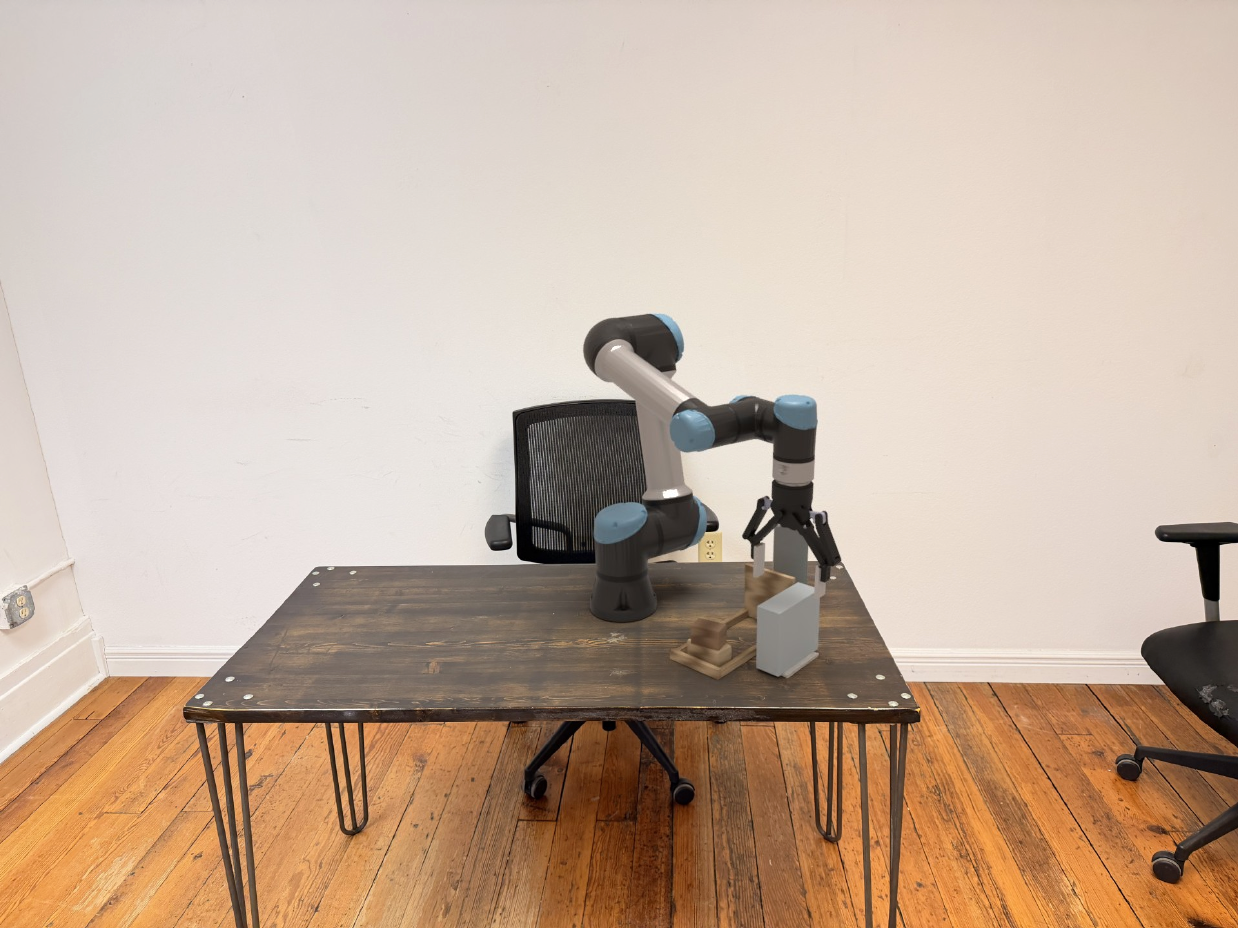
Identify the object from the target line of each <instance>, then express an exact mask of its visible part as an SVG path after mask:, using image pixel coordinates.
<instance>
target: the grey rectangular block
mask: <svg viewBox="0 0 1238 928" xmlns="http://www.w3.org/2000/svg"><path fill="white" fill-rule="evenodd" d="M814 587H815V586H812V585H808V584H807V585H806V584H802V583H799V582H798V583H796V584H794V585H792V586H791V587H789V588H787V589H786V590H784V591H782V592H780V593H779V594H777V595H775V596H774V597H772V598H770V599H769V600H767V601H765V602H763V603H762V604H760V605H758V606H757V619H756V644H757V653H756V655H755V658H756V661H755V662H756V665H755V666H756V667H755V668H756V669H758V670H761V671H763V672H766V673H768V674H770V675H773V676H776V677H778V678H779V677H781V674H783V673H784V672H786V671H787V670H789V669H790V668H791V667H793V666H794V665H796V664H797V663H798V662H800V661H801V660H803V659H804V658H806V657H807V656H808V655H810V654H811V653H813V652H816V651H817V650H819V634H820V633H819V631H820V609H821V608H820V607H821V606H820V605H821V604H820V603H821V597H820V598H818V599H816V598H814Z"/></svg>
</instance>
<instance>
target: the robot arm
mask: <svg viewBox="0 0 1238 928" xmlns="http://www.w3.org/2000/svg"><path fill="white" fill-rule="evenodd" d="M684 351H685V342H684V336H683V333H682V331H681V329H680V327H679V325H678V323H677V322H676V321H675V320H674V319H673V318H672V317H671V316H669V315H667V314H665V313H644V314H636V315H628V316H627V315H626V316H619V317H608V318H605V319H603V320H602V319H601V320H600V321H598V322H597V323H596V324H595V325H593V326H592V327H591V328H590V329H589V331H588V332H587V334H586V336H585V338H584V342H583V346H582V353H583V354H582V355H583V359H584V361H585V364H586V365H587V367H588V369H589V371H591V373H592V374H594V376H596V377H597V378H599V379H600V380H602V382H605V383H613V384H614V385H615V386H617V388H619V389H620V390H622V391H623V392H624V393H625V394H627V395H628V396H629V397H631V398H632V399H633V400H634V401H635V406H636V407H635V409H636V414H637V421H638V429H639V438H640V442H641V444H640V445H641V450H642V451H641V452H642V458H643V465H644V471H645V479H646V481H645V482H646V487H647V489H646V490H645V492H644V493H643V495H642V496H641V499H642V503H640V502H635V501H634V502H631V501H629V502H628V501H627V502H625V503H623V502H618V503H614V504H611V505H608V506H606V507H604V508H602V509H601V510H600V511H599V512H598V513H597V514H596V517H595V518H594V525H593V526H594V527H593V538H594V551H595V552H594V554H595V569H596V571H595V573H596V577H595V581H594V584H593V588H592V593H591V594H590V596H589V597H590V598H589V610H590V612H591V613H592V614H593V615H594V616H595V617H596V618H599V619H601V620H605V621H608V622H615V623H616V622H617V623H626V622H627V623H629V622H635V621H639V620H643V619H646V618H648V617H649V616H651V615H653V614H654V613H655V612H656V610H657V608H658V607H657V605H658V602H657V599H658V598H657V594H656V592H655V590H654V587H653V584H652V581H651V578H650V575H649V560H651V559H654V558H657V557H661V556H664V555H667V554H671V553H674V552H675V553H676V552H678V551H680V552H681V551H685V550H688V549H689V548H691V547H693V546H694V547H695V546H696V545H698V544H699V543H700V542H701V540H702V539H703V538H704V536H705V534H706V531H707V527H708V526H707V525H708V517H707V512H706V508H705V506H703V502H702V500H700V498H698V497H697V496H695V495H694V493H693V490H692V488H690V487H689V486H688V485H687V484H686V483H685V476H684V469H683V463H682V461H683V460H682V454H681V452H682V453H688V454H689V453H693V452H696V453H698V452H699V453H700V452H704V451H707V450H710V449H715V448H720V447H723V446H728V445H733V444H738V443H742V442H743V443H744V442H747V441H753V440H759V441H762V442H766V443H768V444H772V450H773V451H772V472H771V475H772V476H771V477H772V481H771V499H770V496H768V495H764V496H762V497H760V498H757V501H756V508H755V510H754V512H753V514H752V516H751V518H750V520H749V522H748V524H747V525H746V528H744V531H743V533H742V535H741V537H742V539H743V540H744V541H745V540H747V541H748V542H749V544H750V559H752V560H753V563H752V564H753V577H755V578H757V577H759V576H761V575H763V574H764V568H765V562H766V561H765V559H766V542H764V539H765V538H766V537H767V536H768V535H769V534H770V533H771V532H772V531H774V528H775V527H776V526H777V525H778V524H780V525H781V527H784V528H789V529H791V530H794V531H795V530H797V531H798V532H799V534H800V535H801V536H803V538H804V539H805V541H806V542H807V544H808V548H809V549H810V551H811V552H812V553H813V556H814V558H815V559H816V561H817V563H818V564H816V565H815V572H814V586H813V587H814V598H816V599H818V598H820V599H821V598H822V597H823V596H824V595H826V586H827V582H828V581H830V579H831V572H832V571H831V569H832V567H835V566H837V565H839V564H840V563H841V562H842V556H841V554H840V551H839V549H838V546H837V544H836V541H835V540H836V539H835V538H834V536H833V535H834V534H833V533H832V530H831V527H830V524H829V519H828V518H829V515H828V512H827V511H826V510H822V511H821V512H820V511H814V510H813V507H812V505H813V504H812V503H813V500H814V482H813V480H814V479H815V463H816V439H817V431H818V430H817V427H818V404H817V402H816V400H815V399H814V398H813V397H811V396H807V395H800V394H785V395H780V396H778V397H777V398H776V399H775V401H771V400H768V399H764V398H760V397H758V396H756V395H747V394H746V395H745V394H741V395H736V396H735V397H734V398H732V400H730V401H729V402H728V403H723V404H717V405H713V406H712V405H708V404H707V403H705V402H704V401H702V400H700V399H699V398H698V397H697V396H695V395H694V394H692V393H691V392H689V391H688V390H686V389H685V388H684V387H683V386H681V385H680V384H679V383H678V382H676V381H674V380H673V379H672V378H673V377H674V375H675V374H676V373H677V365H676V364H677V363H678V362H680V361H681V359H682V357H683V356H684V355H683V353H684ZM768 510H770V511H772V514H773V516H772V517H771V518H770V519H769V520H768V521H767V523H765V525H763V527H762V528H760V529H759V530H758V528H759V526H760V525H761V523H762V522H763V519H764V518H765V515H767V512H768ZM811 519H812V521H811ZM805 525H806V527H807V528H806V529H805V528H804V526H805ZM815 530H816V531H815Z"/></svg>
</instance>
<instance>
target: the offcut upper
mask: <svg viewBox="0 0 1238 928" xmlns="http://www.w3.org/2000/svg"><path fill="white" fill-rule="evenodd" d="M727 630H728V629H727V624H723V623H721V622H719V621H715V620H711V619H710V620H709V619H706V618H701V617H697V619H696V620H695V621H693V622H692V623H691V624H690V638H691V644H694V645H698V646H702V647H706V648H710V649H714V650H717V651H719V650H720V649H721V648H722V647H723V646H724V645H725V644H728V643H727V641H728V639H727V637H728V636H727V635H728V634H727Z"/></svg>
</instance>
